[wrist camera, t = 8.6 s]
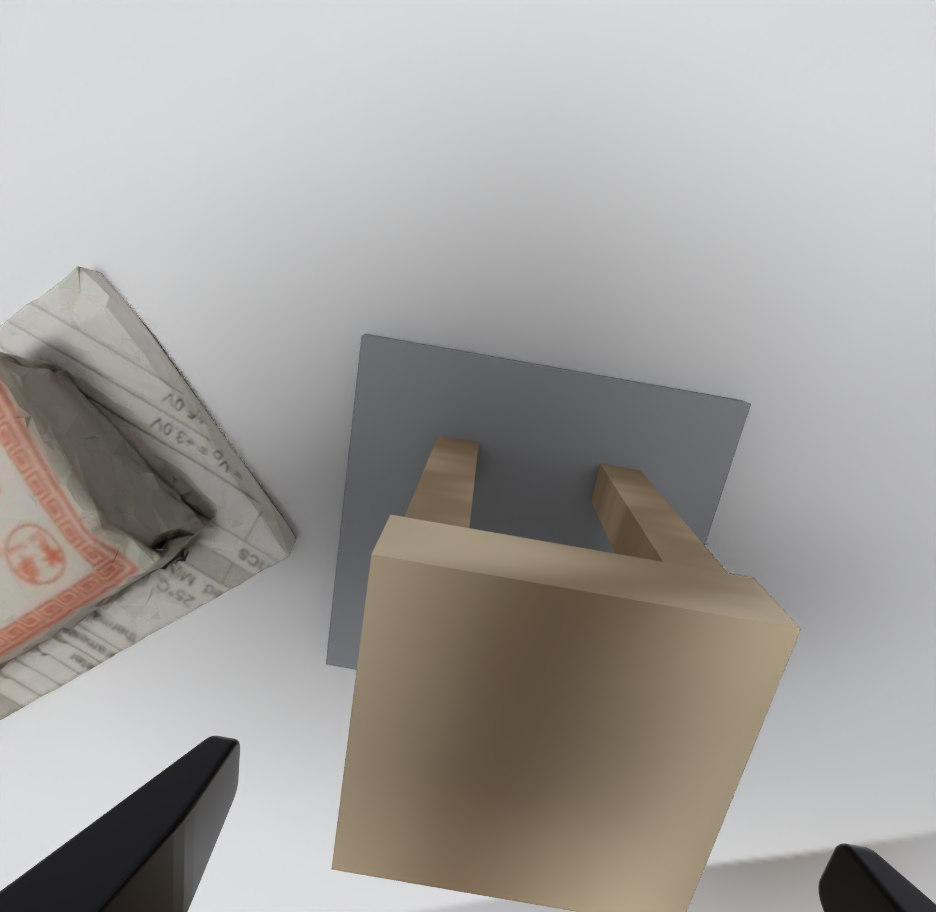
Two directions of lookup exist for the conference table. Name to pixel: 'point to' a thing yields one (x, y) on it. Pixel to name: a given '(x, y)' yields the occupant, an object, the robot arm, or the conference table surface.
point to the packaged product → (109, 491)
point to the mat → (516, 452)
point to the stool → (551, 701)
